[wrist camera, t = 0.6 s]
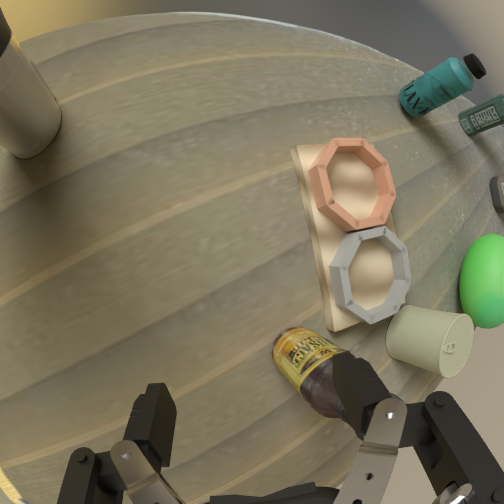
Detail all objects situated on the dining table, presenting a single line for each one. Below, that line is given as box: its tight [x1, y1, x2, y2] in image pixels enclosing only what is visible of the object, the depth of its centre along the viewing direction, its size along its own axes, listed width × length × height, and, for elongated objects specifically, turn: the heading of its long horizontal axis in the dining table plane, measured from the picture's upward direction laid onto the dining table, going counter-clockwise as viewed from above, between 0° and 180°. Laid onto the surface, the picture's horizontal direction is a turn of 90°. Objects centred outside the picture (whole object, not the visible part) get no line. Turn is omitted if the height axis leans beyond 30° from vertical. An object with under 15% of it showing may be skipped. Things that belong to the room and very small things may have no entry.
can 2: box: [458, 94, 504, 136], centre depth 40 cm, size 6×6×15 cm
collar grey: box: [329, 226, 411, 324], centre depth 34 cm, size 12×12×2 cm
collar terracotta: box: [308, 138, 396, 232], centre depth 33 cm, size 12×12×2 cm
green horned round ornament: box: [459, 234, 504, 328], centre depth 37 cm, size 18×17×15 cm
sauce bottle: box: [272, 327, 406, 441], centre depth 24 cm, size 6×6×20 cm
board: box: [291, 144, 405, 332], centre depth 36 cm, size 24×13×2 cm, turn 12°
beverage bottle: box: [399, 54, 486, 117], centre depth 32 cm, size 6×7×20 cm
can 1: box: [386, 305, 474, 378], centre depth 33 cm, size 9×9×12 cm
